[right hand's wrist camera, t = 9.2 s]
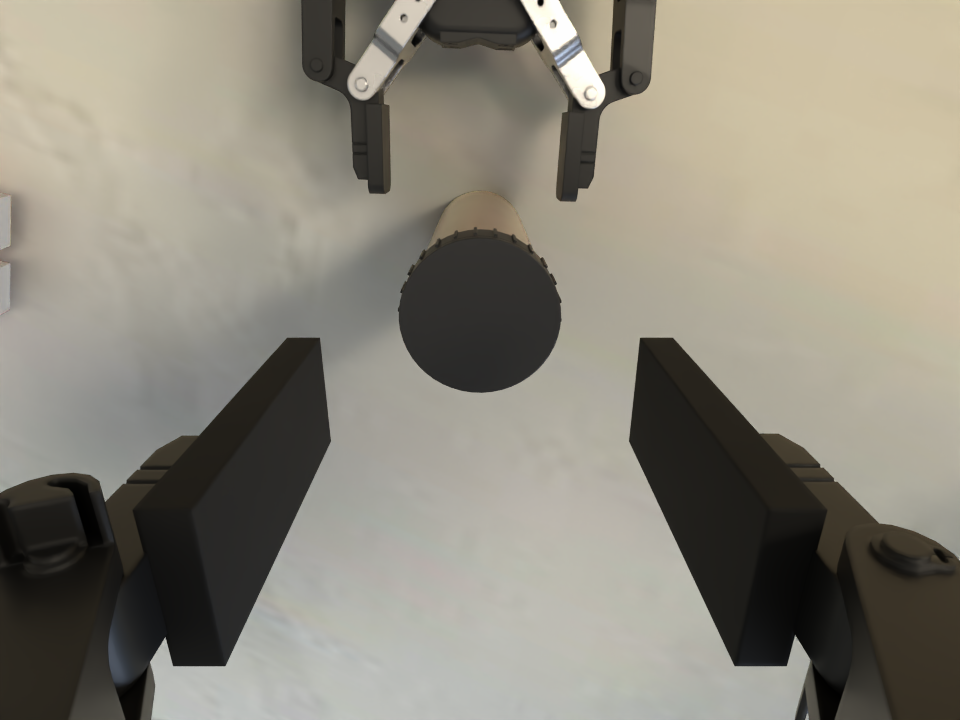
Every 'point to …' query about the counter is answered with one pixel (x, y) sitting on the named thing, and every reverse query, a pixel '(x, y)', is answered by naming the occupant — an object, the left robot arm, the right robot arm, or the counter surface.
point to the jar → (479, 216)
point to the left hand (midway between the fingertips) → (473, 196)
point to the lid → (479, 311)
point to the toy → (1, 240)
